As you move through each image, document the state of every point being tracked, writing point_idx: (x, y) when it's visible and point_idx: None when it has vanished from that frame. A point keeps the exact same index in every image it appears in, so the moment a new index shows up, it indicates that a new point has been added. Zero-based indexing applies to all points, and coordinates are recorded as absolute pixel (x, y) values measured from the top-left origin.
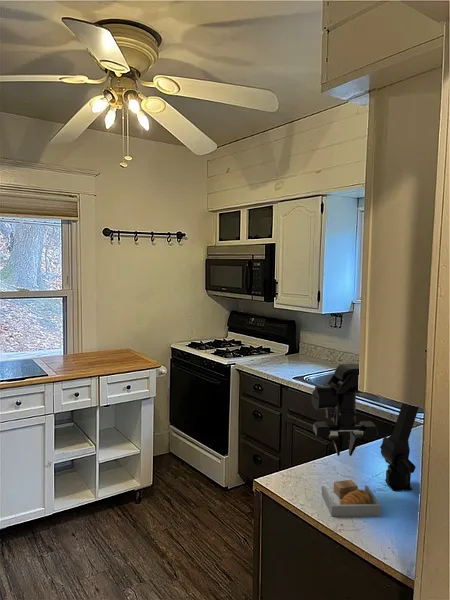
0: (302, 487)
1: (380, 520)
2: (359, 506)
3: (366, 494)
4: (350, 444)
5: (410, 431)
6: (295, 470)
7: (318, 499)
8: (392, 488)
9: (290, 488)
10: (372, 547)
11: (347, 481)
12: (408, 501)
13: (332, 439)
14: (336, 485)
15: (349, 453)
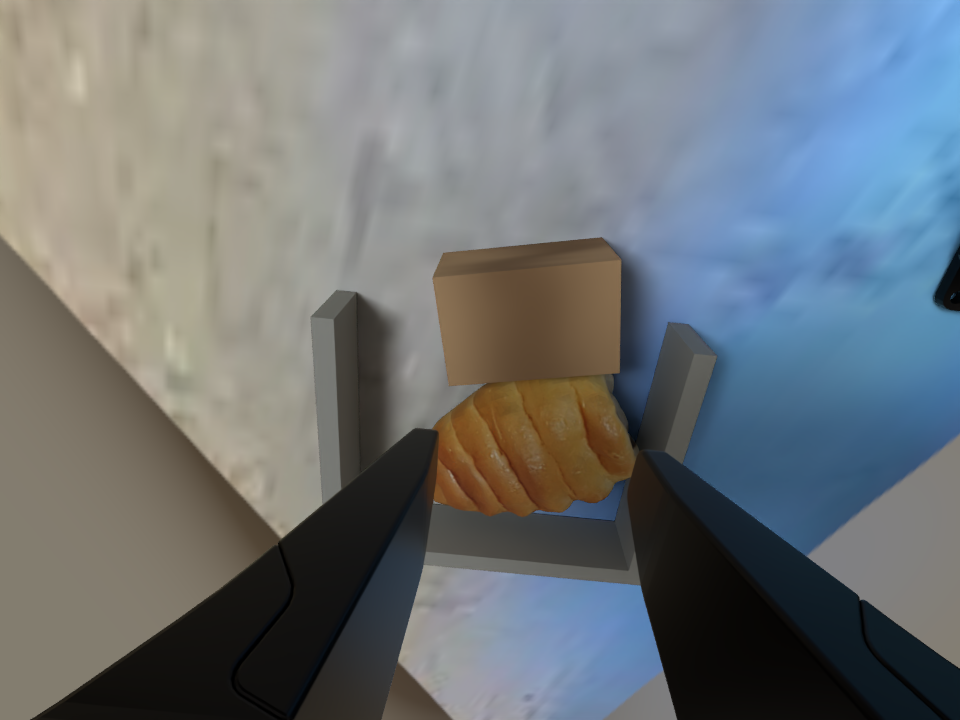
0: (192, 147)
1: None
2: (503, 569)
3: (623, 475)
4: (736, 664)
5: None
6: None
7: (301, 339)
8: (950, 294)
9: (85, 151)
10: (461, 690)
11: (566, 287)
12: (917, 436)
13: (125, 684)
14: (440, 327)
15: (639, 496)
